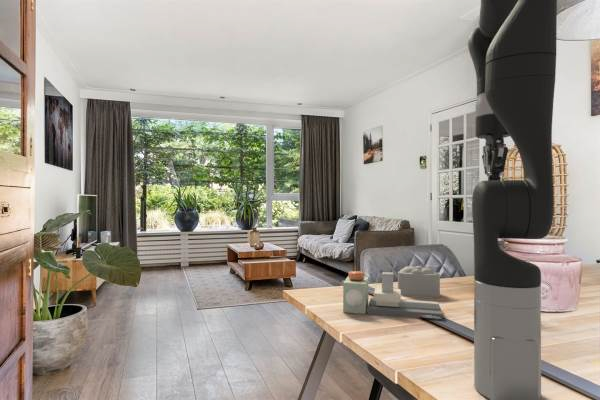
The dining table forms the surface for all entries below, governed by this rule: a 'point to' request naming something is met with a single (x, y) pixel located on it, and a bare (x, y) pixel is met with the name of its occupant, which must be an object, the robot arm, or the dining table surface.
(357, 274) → the button
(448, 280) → the dining table surface
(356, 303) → the end cabinet
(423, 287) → the grey lumpy-topped block
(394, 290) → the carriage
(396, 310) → the rail board
